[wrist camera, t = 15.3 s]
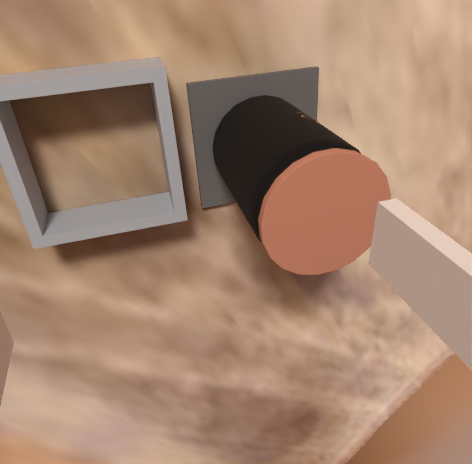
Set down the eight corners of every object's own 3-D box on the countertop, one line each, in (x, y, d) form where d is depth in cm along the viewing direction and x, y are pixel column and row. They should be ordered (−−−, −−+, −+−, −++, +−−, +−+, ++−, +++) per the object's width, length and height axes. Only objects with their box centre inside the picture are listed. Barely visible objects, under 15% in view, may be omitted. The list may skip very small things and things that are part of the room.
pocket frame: (40, 224, 46) (33, 249, 42) (-14, 76, 38) (-29, 88, 34) (180, 199, 49) (187, 220, 45) (159, 56, 41) (165, 66, 36)
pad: (201, 205, 50) (202, 208, 49) (186, 83, 42) (187, 84, 42) (312, 185, 52) (314, 187, 52) (316, 66, 45) (318, 67, 45)
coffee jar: (308, 168, 50) (394, 248, 35) (224, 198, 49) (275, 294, 35) (293, 78, 44) (388, 130, 30) (197, 111, 44) (245, 181, 29)
